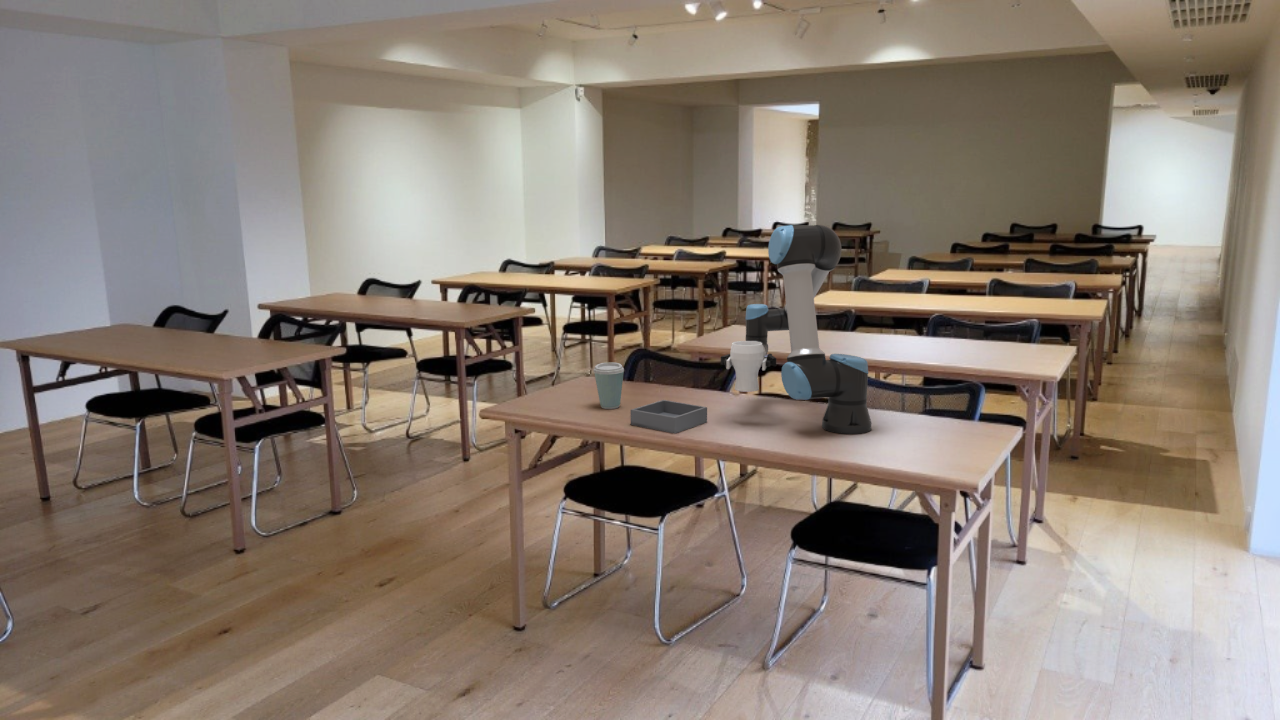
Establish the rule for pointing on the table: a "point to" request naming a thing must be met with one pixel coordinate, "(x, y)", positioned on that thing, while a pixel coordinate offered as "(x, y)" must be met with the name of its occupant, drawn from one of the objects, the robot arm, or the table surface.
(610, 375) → the disposable coffee cup
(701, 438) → the table surface
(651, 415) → the bin
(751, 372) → the white ceramic vase
